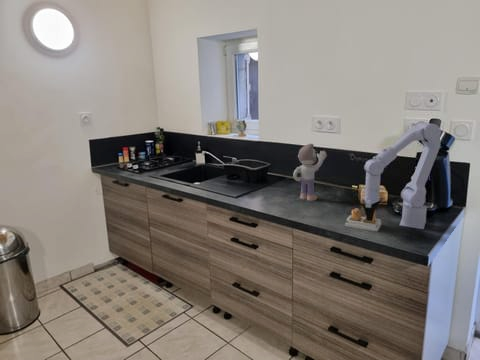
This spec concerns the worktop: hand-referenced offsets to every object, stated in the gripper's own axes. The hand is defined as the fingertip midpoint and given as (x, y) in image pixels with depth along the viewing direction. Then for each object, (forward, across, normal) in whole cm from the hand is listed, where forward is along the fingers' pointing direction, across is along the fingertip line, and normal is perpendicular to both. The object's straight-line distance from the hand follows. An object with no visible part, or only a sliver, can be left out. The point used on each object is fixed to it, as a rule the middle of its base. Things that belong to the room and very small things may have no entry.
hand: (370, 218), depth 157 cm
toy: (+4, -26, -36) cm, 44 cm away
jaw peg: (+3, 0, 0) cm, 3 cm away
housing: (+4, 0, -3) cm, 5 cm away
